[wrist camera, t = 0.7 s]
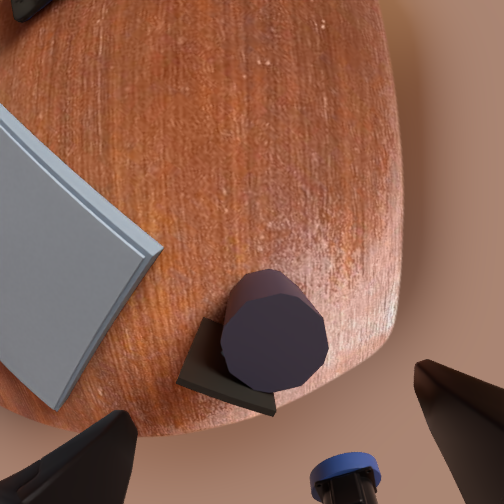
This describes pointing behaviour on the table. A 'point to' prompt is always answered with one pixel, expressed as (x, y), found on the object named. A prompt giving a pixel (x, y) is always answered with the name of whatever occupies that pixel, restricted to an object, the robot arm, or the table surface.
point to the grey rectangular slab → (58, 265)
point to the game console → (26, 8)
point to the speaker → (257, 344)
